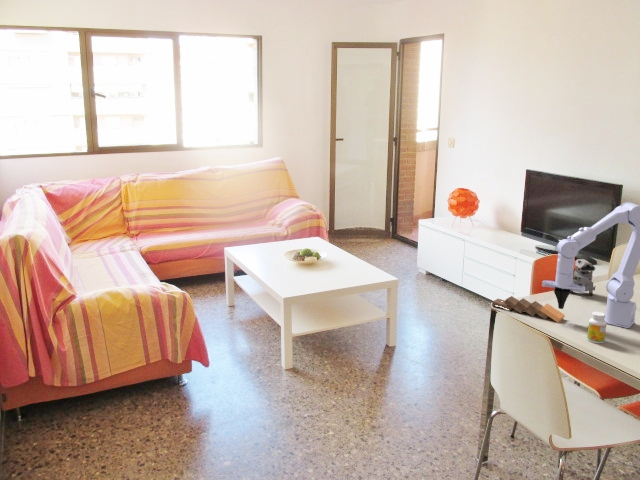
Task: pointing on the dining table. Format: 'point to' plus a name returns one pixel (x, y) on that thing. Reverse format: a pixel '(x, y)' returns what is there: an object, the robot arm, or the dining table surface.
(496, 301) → the tile
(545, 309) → the orange tile
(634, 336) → the dining table surface
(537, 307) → the tile
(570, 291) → the robot arm
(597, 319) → the supplement bottle
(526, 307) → the tile
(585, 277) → the figurine
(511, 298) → the tile
